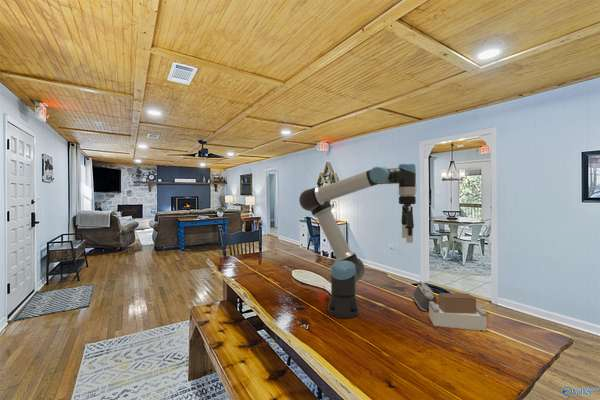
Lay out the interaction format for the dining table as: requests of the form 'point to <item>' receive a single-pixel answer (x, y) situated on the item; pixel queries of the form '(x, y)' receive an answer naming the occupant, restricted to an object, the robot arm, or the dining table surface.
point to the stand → (458, 318)
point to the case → (456, 303)
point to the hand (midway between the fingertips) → (407, 240)
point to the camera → (424, 296)
